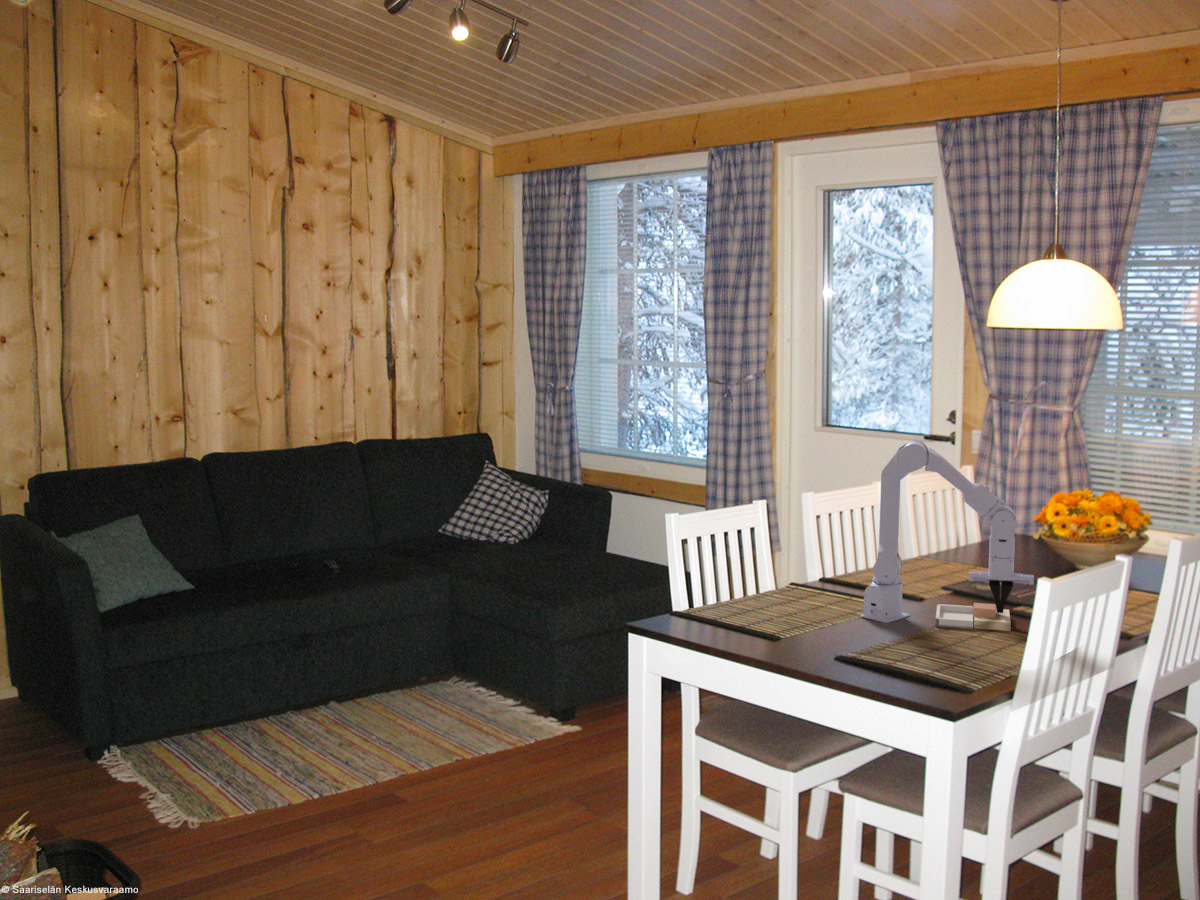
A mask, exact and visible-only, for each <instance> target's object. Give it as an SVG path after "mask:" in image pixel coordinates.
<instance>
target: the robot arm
mask: <svg viewBox="0 0 1200 900" xmlns="http://www.w3.org/2000/svg"><path fill="white" fill-rule="evenodd" d="M922 468H925V469H924V471H925V472H930V473H932V472H933V473H937V474H939V475H940V477H942V478H943V479H945V480H946V481H948V483H950V484H951V485H952V486H954V487H955V488H956V489H957V490H959V491H960V492H961V493H962V496H963V502H964V503H966V504H967V505H968V506H969V507H970V508H971V509H973V511H975V512H976V513H977V514H978V515H980V516H981V517H982V518H983V519H985V520H989V524H990V535H989V541H988V542H989V545H988V546H989V547H988V570H987V571H968V582H974V581H975V582H976V581H977V582H988V585H989V588H990V590H991V593H992V595H993V598H994V602H995V605H996V609H997V613H1003V610H1004V609H1005V604H1006V602H1007V600H1008V598H1009V596H1010V593H1011V592H1012V590H1013V587H1014V584H1026V585H1031V586H1034V584H1035V582H1034V581H1035V577H1034V575H1033V574H1023V573H1017V572H1015V554H1016V553H1015V551H1016V548H1015V547H1016V537H1015V535H1016V534H1015V533H1016V530H1015V528H1016V526H1017V523H1018V521H1017V518H1016V513H1015V511H1014V510H1013V508H1011V506H1010V505H1009V504H1007V503H1006V501H1005V500H1004V499H1000V498H999V497H998V496H996V495H995V494H994V493H992V492H991V491H990V489H991V487H990V486H988V485H987V484H985V485H983V484H982V483H979V482H978V483H976V482H975V483H974V482H971V481H970V480H969V479H968V478H967V477H966V476H965V475H964V474H962V472H960V471H959V470H958V469H957V468H956V467H955V466H954V465H953V464H951V463H950V462H949V461H948V460H947V459H946V458H945V457H944V456H942V455H941V454H939V453H938V452H937V451H936V450H935V449H933V448H931V447H930V446H929V447H928V446H927V445H926V443H925V442H923V441H921V440H918V439H912V440H909V441H908V442H906V443H905V444H903V445H901V446H899V448H898V449H897V451H896V452H895V453H894V454H893V456H892V457H891V458H890V459H889V461H888V462H887V463H886V465H885V466H884V467H883V469H882V470H881V474H880V475H881V476H880V502H879V506H880V509H879V531H878V532H879V533H878V535H879V536H878V549H877V558H876V559H875V563H874V566H873V568H872V572H873V576H872V581H871V583H870V585H868V586H866V588H865V590H864V592H863V614H860V617H861V618H864V619H868V620H873V621H878V622H881V623H885V624H888V623H891V622H895V621H898V620H901V619H904V618H907V617H910V614H909V613H905V612H903V581H904V579H903V578H902V577H900V573H901V569H902V566H903V562H902V561H903V560H902V559H901V556H900V554H899V533H900V532H899V531H900V530H899V527H900V504H901V503H900V501H901V497H900V496H901V480H903V479H904V478H905V477H906V476H908V475H909V474H911V473H913V472H915V471H919V470H921V469H922Z"/></svg>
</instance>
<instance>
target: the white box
mask: <svg viewBox="0 0 1200 900" xmlns="http://www.w3.org/2000/svg"><path fill="white" fill-rule="evenodd" d="M1010 614H1011V613H1010V609H1005V608H1004V610H1003V613H997V608H996V618H993V617H978V616H973V629H978V630H979V629H980V630H994V631H1006V632H1007V631H1008V632H1011V629H1012V628H1011V627H1012V626H1011V623H1012V621H1011V615H1010Z"/></svg>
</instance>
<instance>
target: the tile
mask: <svg viewBox="0 0 1200 900" xmlns="http://www.w3.org/2000/svg"><path fill="white" fill-rule="evenodd" d="M996 609H997V606H996V603H995V604H994V603H985V602H984V603H982V602H973V617H974V616H978V617H993V618H996Z"/></svg>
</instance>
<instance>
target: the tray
mask: <svg viewBox="0 0 1200 900" xmlns="http://www.w3.org/2000/svg"><path fill="white" fill-rule="evenodd" d="M973 609H974V605H973V606H972V605H957V604H944V603H942V604H941V603H937V604H936V612H935V627H936V628H949V629H963V630H974V616H973Z"/></svg>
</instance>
